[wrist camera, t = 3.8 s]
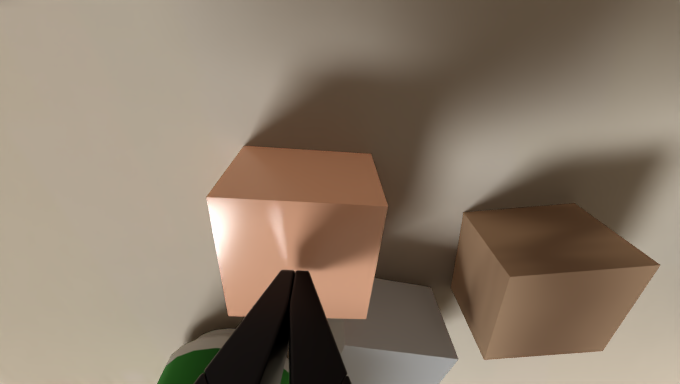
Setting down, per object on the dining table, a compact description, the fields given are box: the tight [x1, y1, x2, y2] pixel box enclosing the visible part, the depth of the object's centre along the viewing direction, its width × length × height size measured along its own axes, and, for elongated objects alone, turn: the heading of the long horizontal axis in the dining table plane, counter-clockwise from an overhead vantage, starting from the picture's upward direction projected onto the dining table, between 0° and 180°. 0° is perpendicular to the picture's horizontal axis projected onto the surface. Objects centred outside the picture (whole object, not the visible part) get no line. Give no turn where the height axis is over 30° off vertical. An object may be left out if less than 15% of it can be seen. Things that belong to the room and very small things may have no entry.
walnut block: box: [451, 203, 660, 360], centre depth 12 cm, size 5×5×4 cm
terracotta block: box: [206, 146, 388, 319], centre depth 11 cm, size 5×5×4 cm
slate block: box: [327, 278, 458, 384], centre depth 15 cm, size 5×5×4 cm
